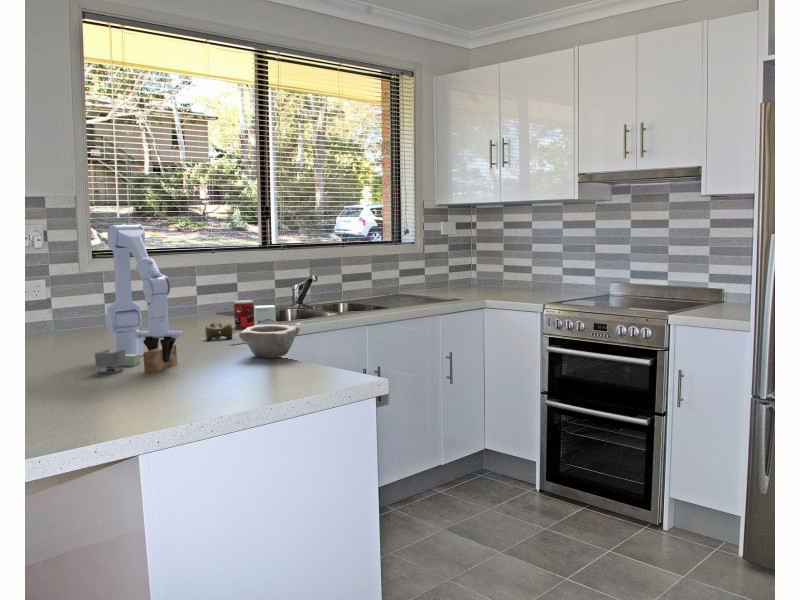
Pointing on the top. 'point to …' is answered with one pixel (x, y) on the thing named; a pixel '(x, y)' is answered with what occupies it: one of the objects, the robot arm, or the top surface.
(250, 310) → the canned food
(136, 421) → the top surface
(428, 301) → the top surface
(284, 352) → the mortar
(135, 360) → the block
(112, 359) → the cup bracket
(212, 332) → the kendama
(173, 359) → the walnut rail
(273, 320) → the supplement box
